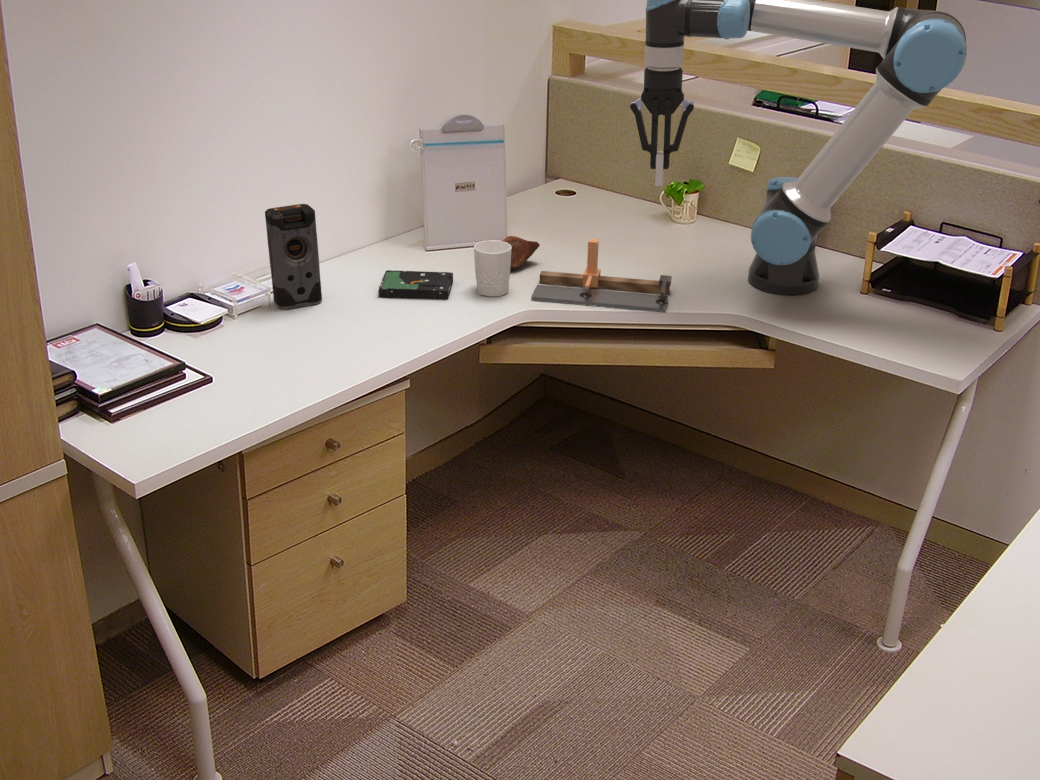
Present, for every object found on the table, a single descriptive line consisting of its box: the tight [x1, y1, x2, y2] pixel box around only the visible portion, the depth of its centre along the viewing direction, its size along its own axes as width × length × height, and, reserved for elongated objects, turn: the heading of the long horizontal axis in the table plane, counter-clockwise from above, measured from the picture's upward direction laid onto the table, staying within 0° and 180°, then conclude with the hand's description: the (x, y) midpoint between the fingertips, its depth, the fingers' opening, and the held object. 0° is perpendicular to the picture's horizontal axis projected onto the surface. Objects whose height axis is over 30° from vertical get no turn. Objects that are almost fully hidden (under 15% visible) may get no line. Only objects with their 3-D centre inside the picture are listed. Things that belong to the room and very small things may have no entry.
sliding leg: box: [583, 238, 601, 294], centre depth 228 cm, size 3×10×10 cm, turn 169°
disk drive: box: [377, 269, 454, 301], centre depth 230 cm, size 10×3×15 cm
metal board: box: [530, 284, 669, 313], centre depth 226 cm, size 28×7×1 cm, turn 79°
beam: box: [539, 270, 673, 300], centre depth 229 cm, size 28×10×3 cm, turn 79°
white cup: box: [473, 239, 512, 298], centre depth 228 cm, size 8×8×10 cm
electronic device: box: [264, 203, 323, 311], centre depth 219 cm, size 9×6×20 cm, turn 117°
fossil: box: [501, 235, 540, 269], centre depth 241 cm, size 13×8×10 cm
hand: (659, 184), depth 223 cm, fingers closed
